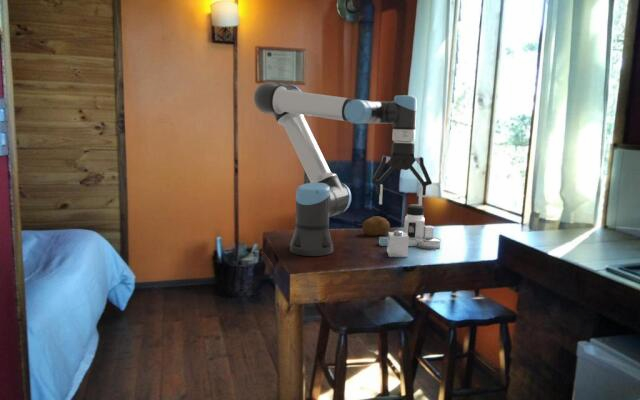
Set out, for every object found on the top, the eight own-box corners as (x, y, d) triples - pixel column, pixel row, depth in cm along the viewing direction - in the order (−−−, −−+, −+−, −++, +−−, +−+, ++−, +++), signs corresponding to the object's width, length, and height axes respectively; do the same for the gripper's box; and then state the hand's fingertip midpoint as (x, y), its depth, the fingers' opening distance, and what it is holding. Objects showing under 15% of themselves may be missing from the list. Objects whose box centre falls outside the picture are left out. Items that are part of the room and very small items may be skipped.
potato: (357, 234, 209) (358, 215, 208) (381, 231, 216) (382, 213, 214) (369, 238, 202) (370, 219, 201) (394, 235, 209) (395, 216, 208)
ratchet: (380, 247, 189) (381, 227, 188) (378, 241, 198) (379, 222, 197) (442, 249, 188) (443, 229, 187) (437, 243, 197) (438, 224, 196)
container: (423, 240, 202) (425, 207, 200) (403, 238, 204) (405, 206, 202) (423, 235, 210) (425, 204, 208) (404, 234, 211) (406, 203, 209)
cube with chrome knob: (388, 256, 177) (390, 233, 176) (387, 251, 184) (388, 229, 182) (407, 257, 177) (409, 233, 176) (405, 252, 184) (406, 229, 182)
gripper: (367, 141, 171) (364, 205, 174) (442, 143, 170) (438, 207, 174) (365, 140, 178) (363, 201, 181) (438, 142, 177) (434, 203, 181)
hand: (400, 204), depth 177 cm, fingers open, 13 cm apart
